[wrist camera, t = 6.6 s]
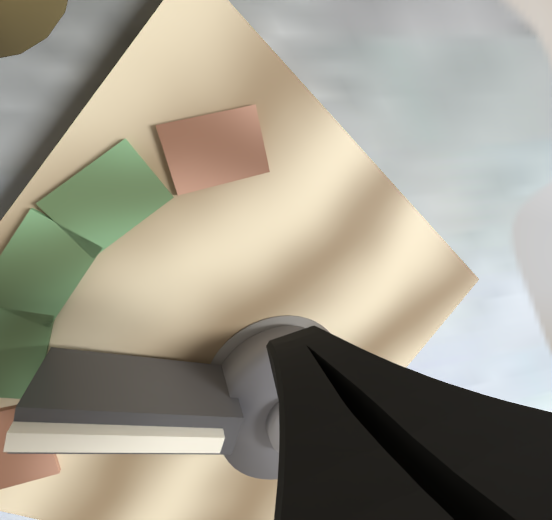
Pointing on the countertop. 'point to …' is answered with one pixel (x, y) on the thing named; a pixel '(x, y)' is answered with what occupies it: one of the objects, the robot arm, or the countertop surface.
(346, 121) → the countertop surface
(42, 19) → the cork
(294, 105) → the tuner board
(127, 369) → the peg dial
